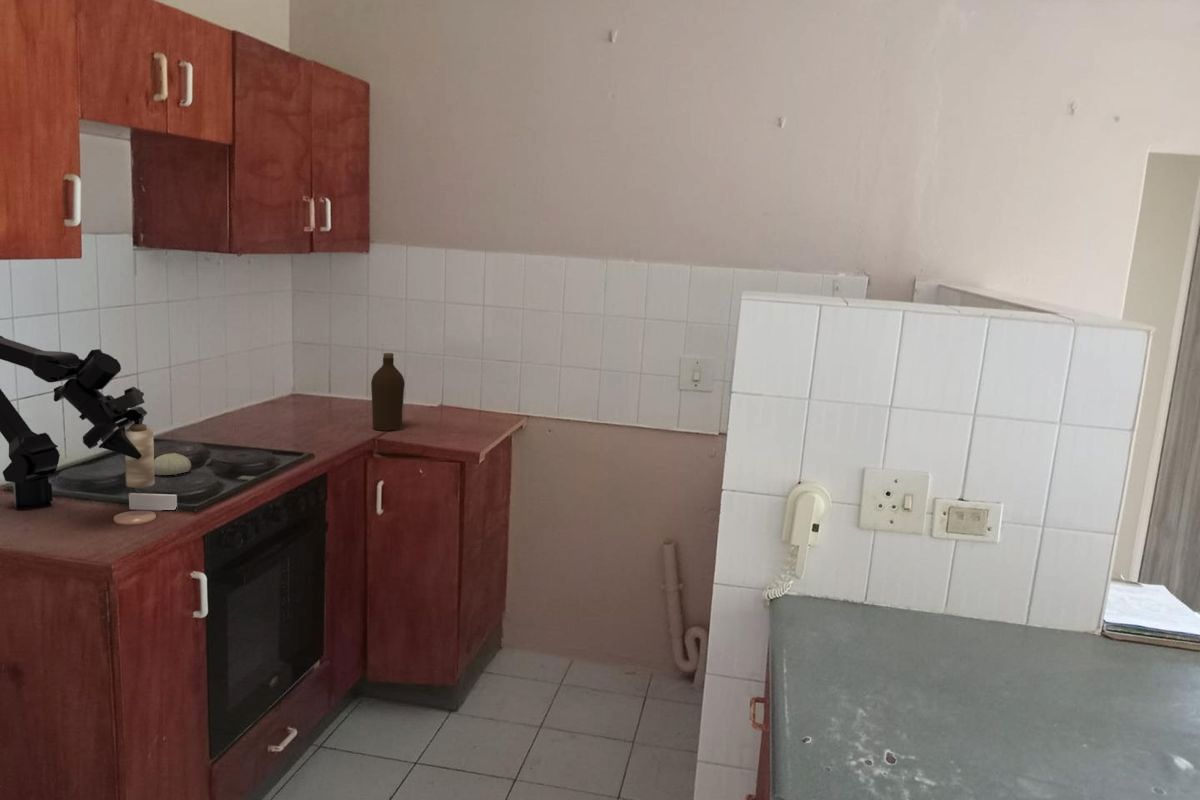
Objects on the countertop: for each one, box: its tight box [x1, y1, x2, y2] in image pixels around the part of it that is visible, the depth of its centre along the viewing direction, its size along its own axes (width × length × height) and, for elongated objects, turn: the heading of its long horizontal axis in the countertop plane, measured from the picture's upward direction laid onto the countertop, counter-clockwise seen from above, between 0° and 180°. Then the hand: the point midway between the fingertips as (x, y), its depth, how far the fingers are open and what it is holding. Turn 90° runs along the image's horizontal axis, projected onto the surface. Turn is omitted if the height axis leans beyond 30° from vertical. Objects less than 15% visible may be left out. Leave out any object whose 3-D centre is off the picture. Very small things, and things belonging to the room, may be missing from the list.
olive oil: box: [370, 352, 405, 431], centre depth 288 cm, size 11×11×25 cm
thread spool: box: [124, 423, 156, 489], centre depth 189 cm, size 6×6×13 cm
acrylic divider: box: [128, 492, 178, 511], centre depth 195 cm, size 10×1×4 cm, turn 93°
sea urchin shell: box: [154, 452, 192, 476], centre depth 224 cm, size 9×8×8 cm
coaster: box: [113, 510, 157, 526], centre depth 188 cm, size 8×8×1 cm
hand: (146, 454), depth 189 cm, fingers closed on thread spool, 5 cm apart
